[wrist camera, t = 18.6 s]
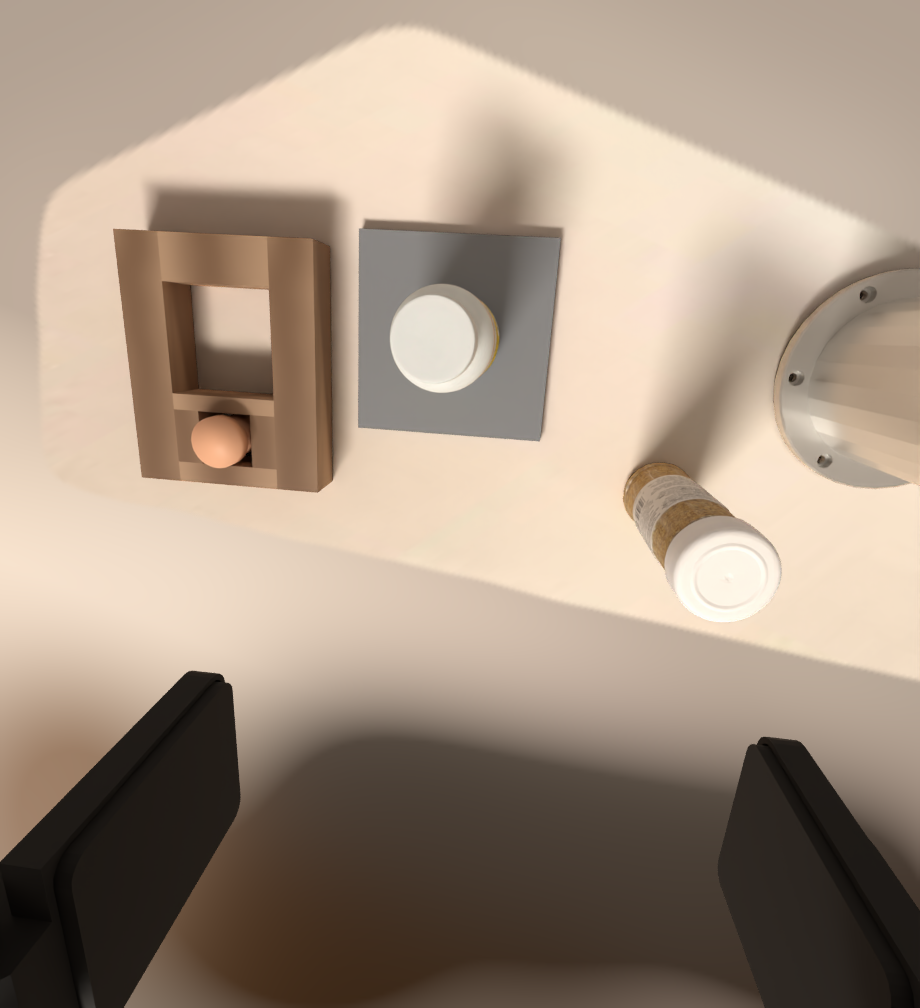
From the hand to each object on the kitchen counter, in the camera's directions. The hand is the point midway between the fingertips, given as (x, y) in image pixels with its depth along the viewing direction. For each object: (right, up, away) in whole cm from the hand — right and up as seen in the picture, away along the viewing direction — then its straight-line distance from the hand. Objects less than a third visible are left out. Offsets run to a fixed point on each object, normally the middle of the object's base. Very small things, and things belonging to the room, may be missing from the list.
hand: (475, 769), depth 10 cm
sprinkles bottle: (+13, +6, +27) cm, 30 cm away
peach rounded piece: (-15, +10, +28) cm, 33 cm away
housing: (-15, +14, +27) cm, 34 cm away
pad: (-1, +15, +25) cm, 29 cm away
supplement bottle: (0, +15, +25) cm, 29 cm away
